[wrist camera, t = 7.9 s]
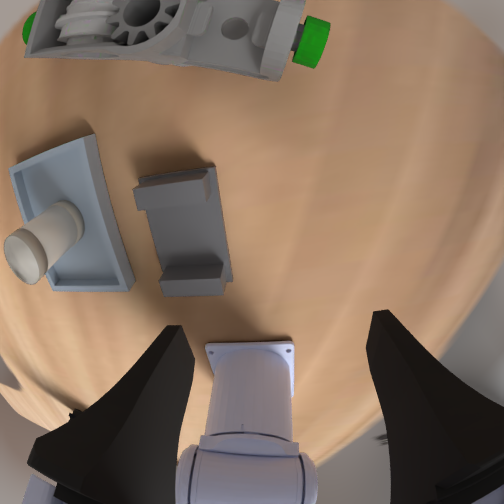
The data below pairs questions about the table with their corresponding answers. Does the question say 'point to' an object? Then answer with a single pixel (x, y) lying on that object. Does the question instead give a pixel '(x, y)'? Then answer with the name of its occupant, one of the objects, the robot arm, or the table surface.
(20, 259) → the white cylindrical jar
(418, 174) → the table surface
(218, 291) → the holder
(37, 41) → the mechanical component
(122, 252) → the tray
